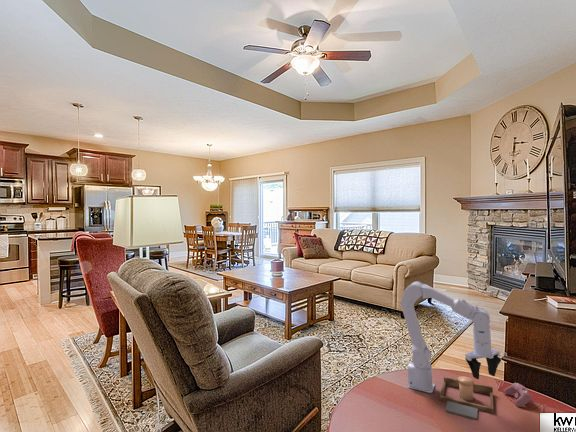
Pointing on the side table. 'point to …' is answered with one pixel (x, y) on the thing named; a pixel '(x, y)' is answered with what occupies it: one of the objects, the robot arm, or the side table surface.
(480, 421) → the side table surface
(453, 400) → the frame
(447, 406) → the rubber mat
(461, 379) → the beige peg
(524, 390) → the video game controller
